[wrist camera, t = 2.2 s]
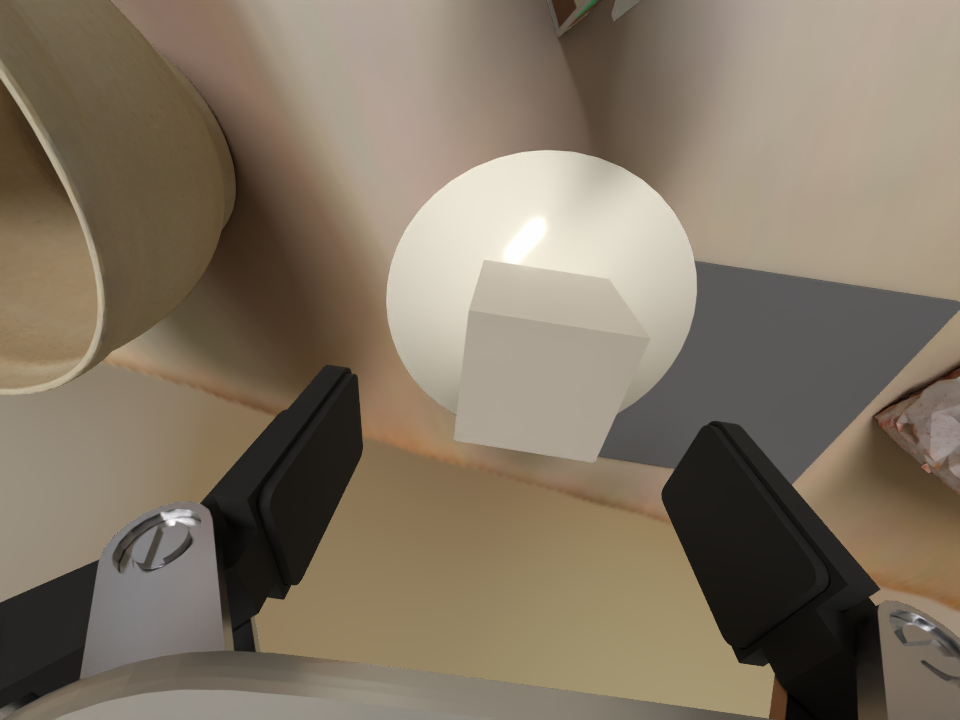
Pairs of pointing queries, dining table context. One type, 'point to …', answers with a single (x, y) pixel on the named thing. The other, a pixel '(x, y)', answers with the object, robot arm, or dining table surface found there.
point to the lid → (541, 299)
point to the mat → (776, 365)
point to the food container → (580, 11)
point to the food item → (930, 428)
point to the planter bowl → (96, 188)
